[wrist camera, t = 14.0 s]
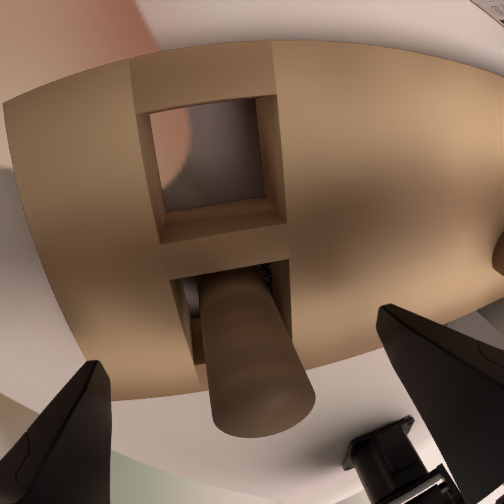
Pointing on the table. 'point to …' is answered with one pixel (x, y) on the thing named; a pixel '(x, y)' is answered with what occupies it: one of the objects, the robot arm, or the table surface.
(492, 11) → the light bulb box
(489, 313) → the grey cube
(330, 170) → the board
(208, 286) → the pin
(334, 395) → the table surface
